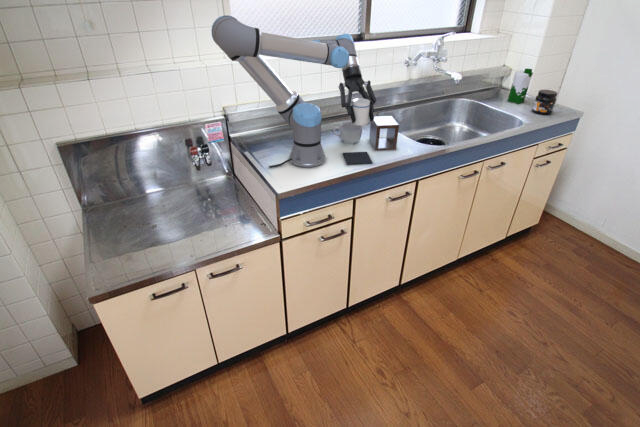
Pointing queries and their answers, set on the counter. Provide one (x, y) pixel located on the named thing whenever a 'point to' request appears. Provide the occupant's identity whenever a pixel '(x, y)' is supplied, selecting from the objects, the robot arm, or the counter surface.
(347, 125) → the teacup
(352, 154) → the mat
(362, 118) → the cup
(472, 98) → the counter surface
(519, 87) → the milk carton
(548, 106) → the supplement container
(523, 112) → the counter surface
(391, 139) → the shelf
